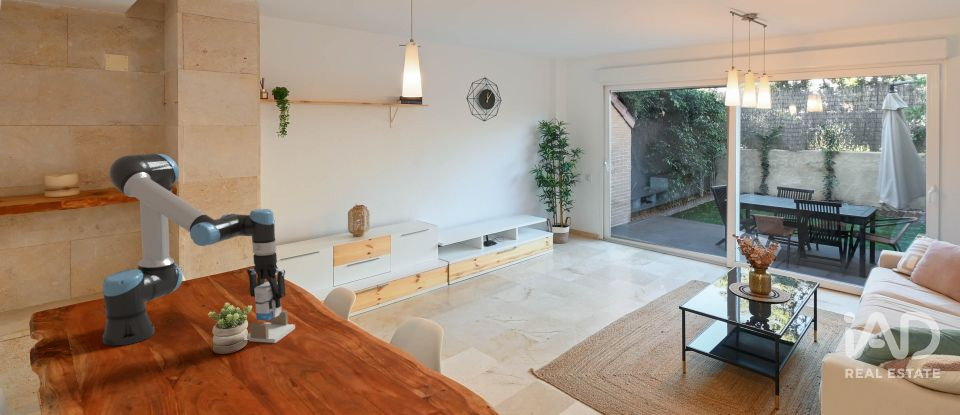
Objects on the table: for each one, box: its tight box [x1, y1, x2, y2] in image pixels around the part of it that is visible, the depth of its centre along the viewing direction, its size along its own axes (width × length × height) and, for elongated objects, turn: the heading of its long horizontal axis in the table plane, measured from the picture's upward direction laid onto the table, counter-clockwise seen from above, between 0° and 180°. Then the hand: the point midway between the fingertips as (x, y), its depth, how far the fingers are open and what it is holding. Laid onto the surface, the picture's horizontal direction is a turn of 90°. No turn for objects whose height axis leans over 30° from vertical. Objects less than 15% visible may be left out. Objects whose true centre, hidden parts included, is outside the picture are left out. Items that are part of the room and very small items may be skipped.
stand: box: [247, 309, 296, 344], centre depth 180 cm, size 12×14×6 cm
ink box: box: [254, 281, 282, 321], centre depth 178 cm, size 8×5×12 cm, turn 168°
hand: (269, 315), depth 179 cm, fingers closed on ink box, 5 cm apart
